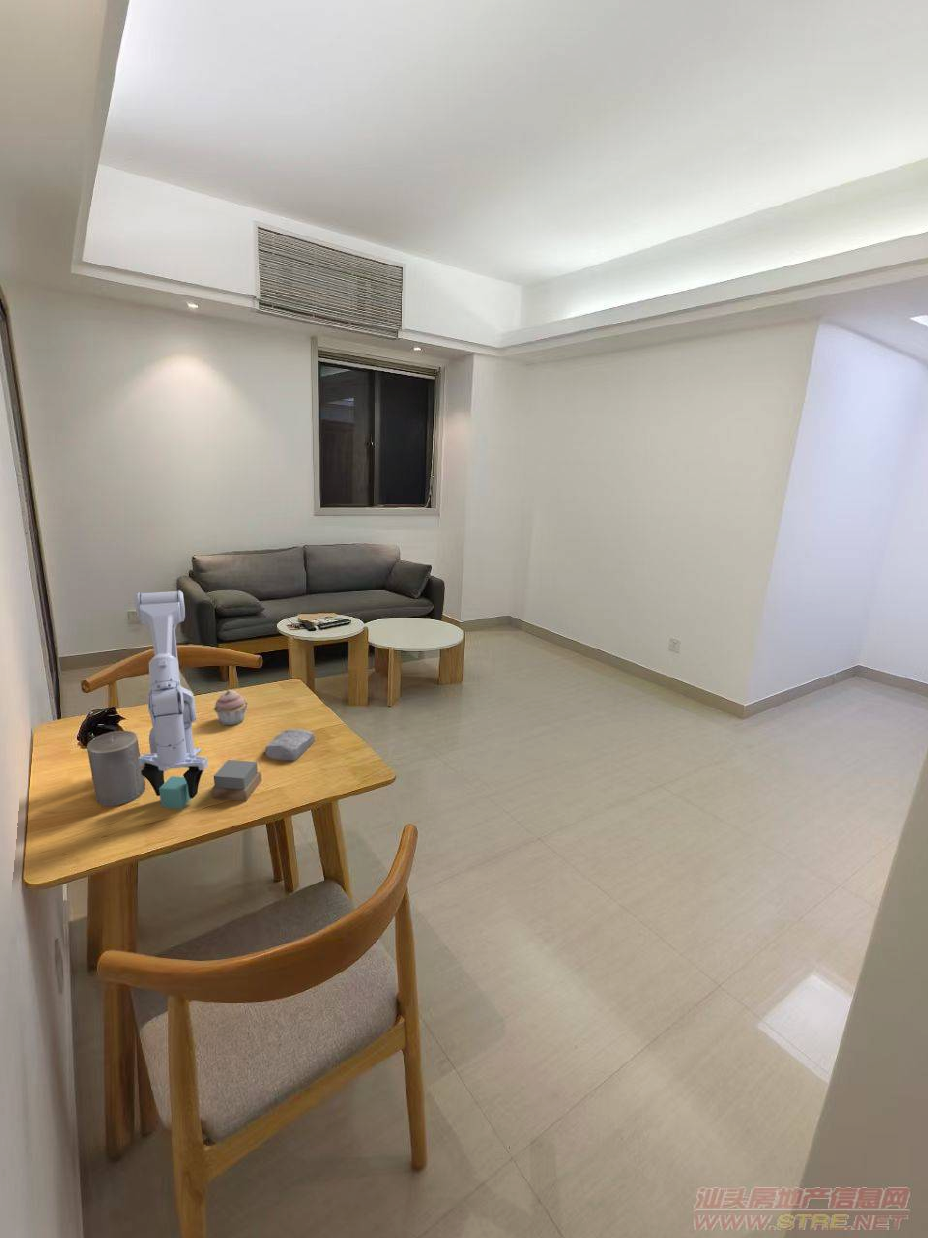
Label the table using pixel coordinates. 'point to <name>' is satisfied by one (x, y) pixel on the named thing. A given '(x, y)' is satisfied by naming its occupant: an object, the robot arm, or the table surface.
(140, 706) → the table surface
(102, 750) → the pillar candle
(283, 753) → the stone block
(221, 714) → the cupcake
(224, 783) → the grey block
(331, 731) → the table surface
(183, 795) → the teal cube
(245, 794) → the walnut slab
